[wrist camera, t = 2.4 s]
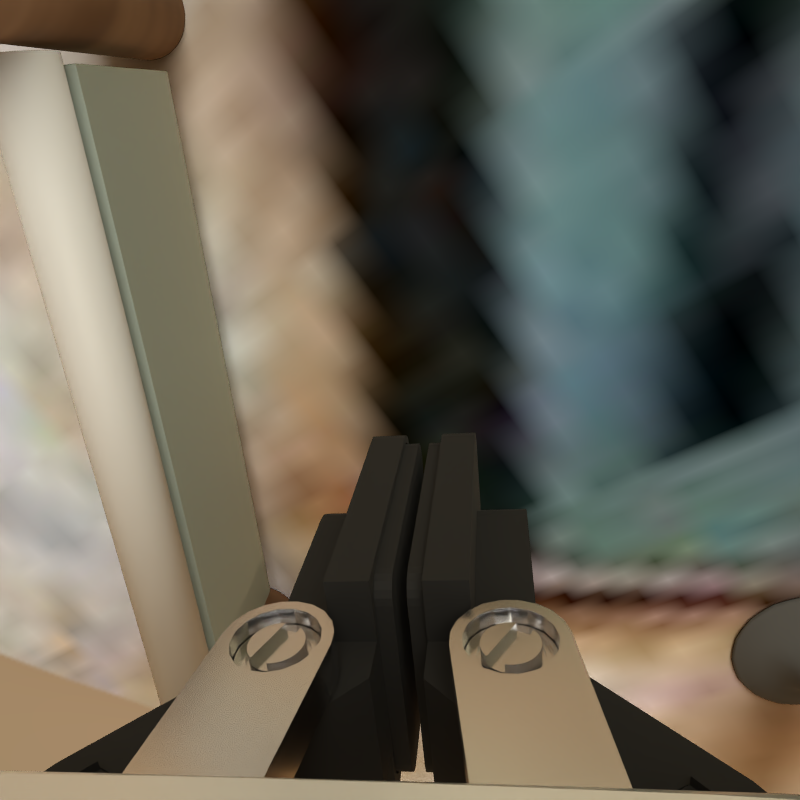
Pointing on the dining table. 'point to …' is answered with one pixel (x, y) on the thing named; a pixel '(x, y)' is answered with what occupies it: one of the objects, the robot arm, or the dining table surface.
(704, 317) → the dining table surface
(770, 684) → the sundae
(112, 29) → the gateposts
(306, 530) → the dining table surface
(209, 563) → the grey rectangular bar
